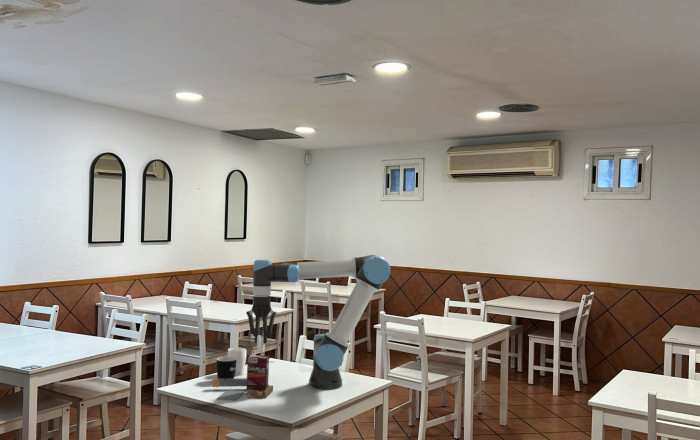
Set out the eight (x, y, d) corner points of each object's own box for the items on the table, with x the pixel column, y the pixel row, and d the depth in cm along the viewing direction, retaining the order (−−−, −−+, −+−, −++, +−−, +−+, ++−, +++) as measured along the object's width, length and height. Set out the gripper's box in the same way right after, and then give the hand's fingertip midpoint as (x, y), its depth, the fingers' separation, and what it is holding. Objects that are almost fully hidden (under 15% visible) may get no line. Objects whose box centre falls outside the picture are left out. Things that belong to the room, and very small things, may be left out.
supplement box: (245, 394, 240) (246, 357, 240) (248, 391, 244) (249, 354, 245) (265, 395, 239) (266, 358, 239) (268, 392, 244) (269, 355, 244)
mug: (229, 384, 256) (230, 361, 256) (212, 382, 258) (212, 360, 259) (242, 378, 267) (242, 356, 268) (225, 376, 270) (225, 354, 270)
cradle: (274, 389, 250) (275, 383, 250) (265, 398, 235) (265, 392, 235) (248, 387, 251) (248, 382, 251) (237, 396, 236) (237, 391, 236)
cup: (243, 376, 270) (244, 351, 270) (225, 376, 270) (225, 350, 270) (247, 372, 279) (248, 347, 279) (229, 371, 279) (230, 347, 279)
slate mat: (244, 392, 243) (244, 391, 243) (235, 400, 231) (235, 399, 231) (226, 391, 244) (226, 390, 244) (216, 399, 232) (216, 398, 233)
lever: (255, 389, 247) (255, 378, 247) (211, 389, 245) (212, 378, 245) (255, 387, 250) (256, 376, 251) (212, 387, 248) (213, 376, 248)
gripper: (280, 295, 246) (279, 349, 245) (248, 294, 247) (247, 348, 247) (275, 297, 238) (274, 353, 237) (243, 296, 240) (241, 352, 239)
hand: (260, 350), depth 242 cm, fingers closed
